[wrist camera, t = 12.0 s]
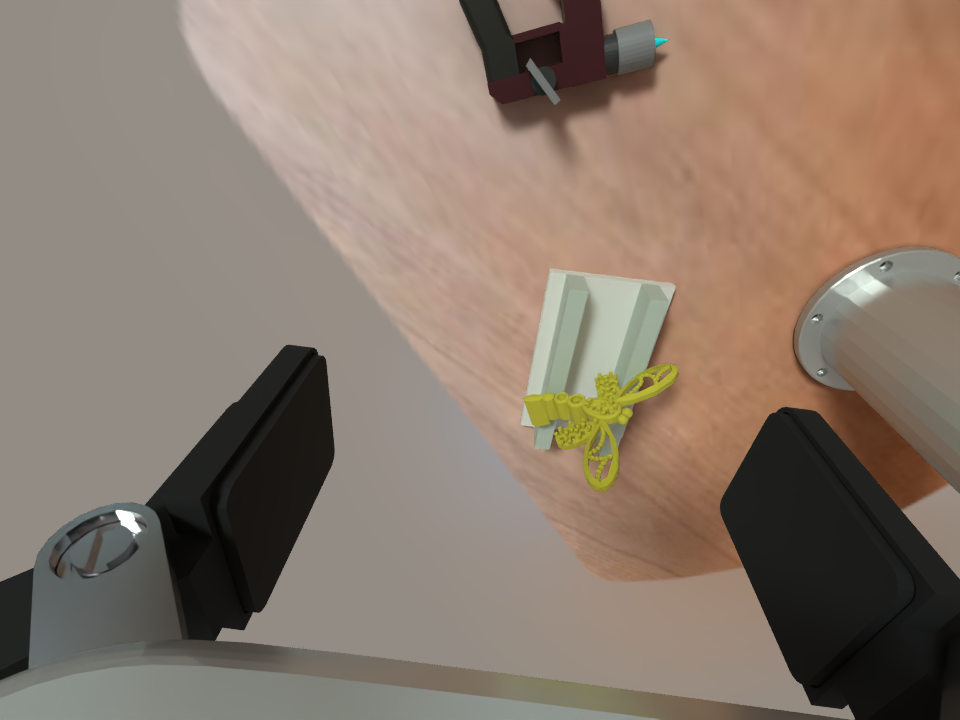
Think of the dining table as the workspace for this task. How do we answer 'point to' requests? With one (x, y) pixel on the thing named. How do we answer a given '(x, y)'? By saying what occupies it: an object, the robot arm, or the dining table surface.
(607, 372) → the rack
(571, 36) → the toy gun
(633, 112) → the dining table surface
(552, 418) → the decorative insect
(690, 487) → the dining table surface
